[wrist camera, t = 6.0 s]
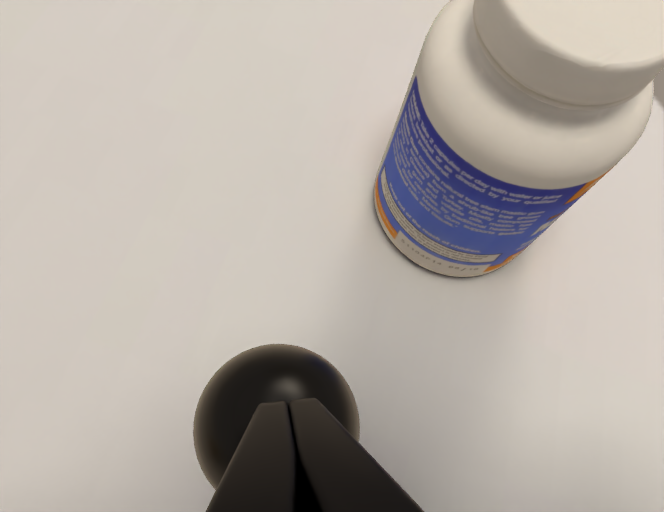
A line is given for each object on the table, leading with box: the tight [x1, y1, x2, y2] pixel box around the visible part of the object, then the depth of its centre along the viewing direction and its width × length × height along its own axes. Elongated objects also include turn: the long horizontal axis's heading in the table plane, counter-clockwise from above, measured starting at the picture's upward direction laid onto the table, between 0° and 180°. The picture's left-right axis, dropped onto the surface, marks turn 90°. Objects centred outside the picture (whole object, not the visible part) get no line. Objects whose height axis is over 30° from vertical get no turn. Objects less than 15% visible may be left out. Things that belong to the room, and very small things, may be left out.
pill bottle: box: [374, 0, 664, 277], centre depth 16 cm, size 5×5×10 cm
